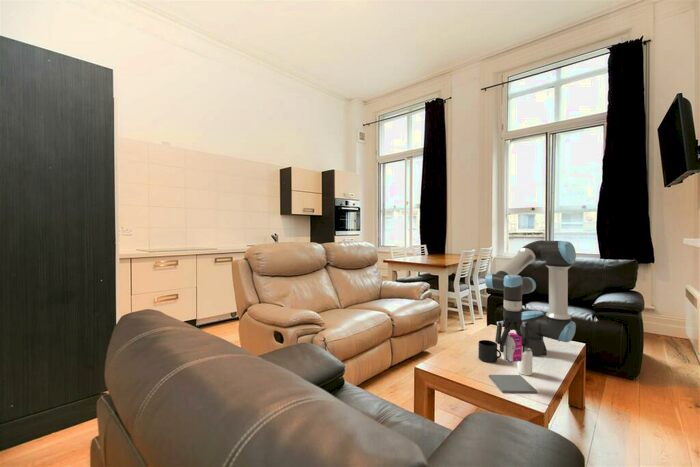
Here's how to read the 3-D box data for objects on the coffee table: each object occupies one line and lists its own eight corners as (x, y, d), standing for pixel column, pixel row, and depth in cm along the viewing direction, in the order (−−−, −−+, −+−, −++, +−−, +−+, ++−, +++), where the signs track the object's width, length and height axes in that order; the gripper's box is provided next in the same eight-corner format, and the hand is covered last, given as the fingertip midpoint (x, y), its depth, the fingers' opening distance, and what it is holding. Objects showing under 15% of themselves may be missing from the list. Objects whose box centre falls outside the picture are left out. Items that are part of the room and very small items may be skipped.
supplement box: (511, 362, 145) (511, 337, 145) (501, 357, 151) (502, 333, 151) (522, 361, 147) (522, 336, 146) (512, 356, 152) (512, 332, 152)
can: (527, 369, 164) (527, 346, 164) (535, 375, 158) (535, 351, 157) (514, 370, 164) (515, 346, 164) (522, 376, 158) (522, 351, 157)
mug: (496, 366, 169) (496, 349, 168) (475, 358, 178) (475, 342, 178) (505, 361, 175) (505, 344, 174) (483, 354, 184) (484, 338, 184)
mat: (520, 377, 156) (520, 375, 156) (537, 393, 141) (537, 390, 141) (488, 376, 157) (488, 374, 157) (502, 392, 142) (502, 390, 142)
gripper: (494, 311, 145) (493, 362, 145) (539, 311, 144) (538, 362, 145) (487, 307, 152) (486, 355, 153) (530, 307, 152) (529, 356, 152)
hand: (511, 359), depth 149 cm, fingers closed on supplement box, 7 cm apart
